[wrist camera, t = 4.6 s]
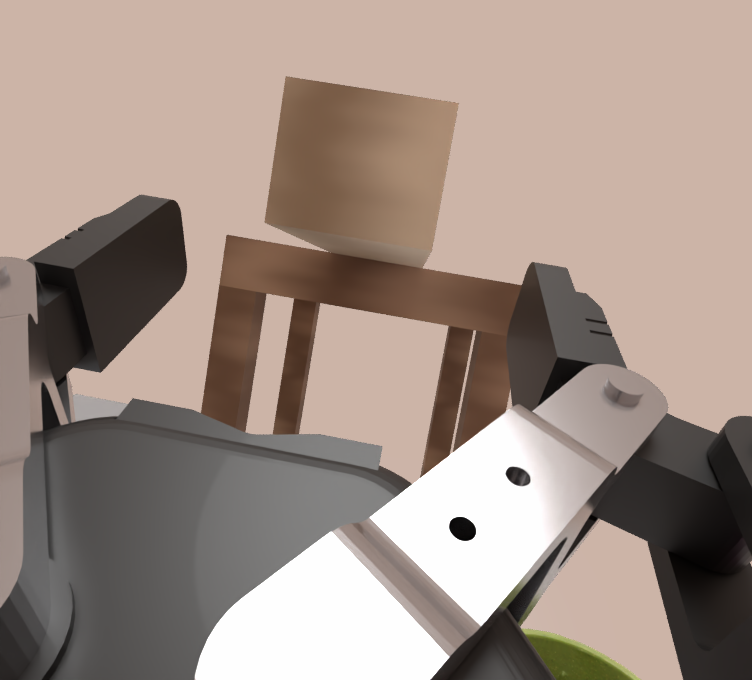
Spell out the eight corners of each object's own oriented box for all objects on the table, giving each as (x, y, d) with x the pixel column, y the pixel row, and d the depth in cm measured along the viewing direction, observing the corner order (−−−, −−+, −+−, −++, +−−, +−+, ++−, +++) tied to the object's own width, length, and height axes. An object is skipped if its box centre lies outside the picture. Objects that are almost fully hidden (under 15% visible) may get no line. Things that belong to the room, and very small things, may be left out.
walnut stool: (124, 941, 23) (226, 232, 20) (237, 687, 38) (305, 260, 35) (385, 1005, 22) (531, 284, 19) (395, 721, 37) (478, 290, 34)
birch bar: (264, 222, 11) (285, 76, 10) (365, 268, 35) (372, 224, 34) (431, 251, 11) (458, 102, 10) (417, 277, 34) (425, 233, 34)
